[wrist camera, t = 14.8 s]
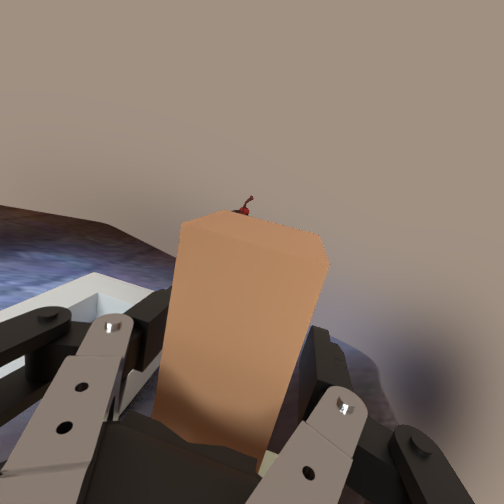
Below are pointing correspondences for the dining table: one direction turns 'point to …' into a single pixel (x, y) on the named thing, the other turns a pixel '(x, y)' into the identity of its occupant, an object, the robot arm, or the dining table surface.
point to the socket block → (89, 315)
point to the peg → (235, 328)
